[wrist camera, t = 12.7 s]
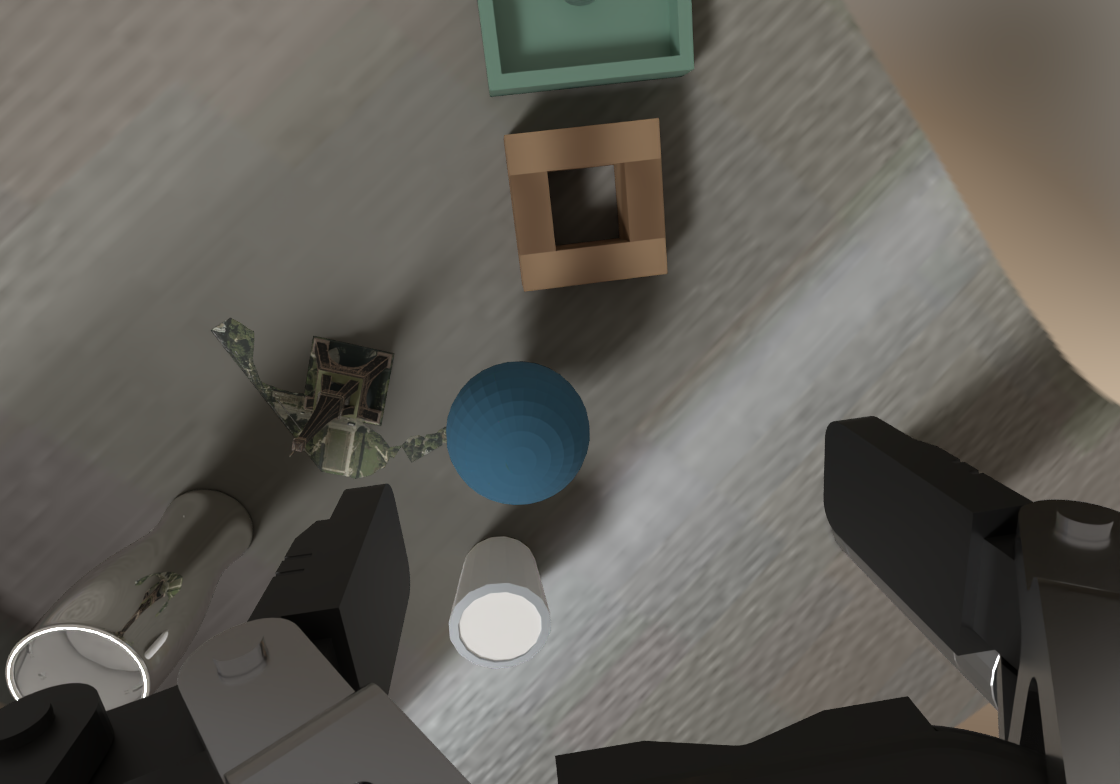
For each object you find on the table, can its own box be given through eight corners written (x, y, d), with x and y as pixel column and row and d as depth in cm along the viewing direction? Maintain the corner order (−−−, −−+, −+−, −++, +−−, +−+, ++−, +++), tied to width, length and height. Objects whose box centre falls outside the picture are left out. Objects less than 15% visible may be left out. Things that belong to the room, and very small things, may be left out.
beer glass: (280, 526, 46) (183, 678, 31) (216, 585, 47) (94, 759, 32) (201, 463, 44) (59, 595, 29) (136, 527, 45) (-32, 684, 30)
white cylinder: (483, 514, 47) (481, 567, 40) (560, 552, 49) (571, 610, 42) (438, 583, 48) (429, 646, 42) (515, 619, 50) (518, 684, 43)
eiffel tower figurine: (209, 326, 42) (83, 385, 29) (337, 247, 41) (266, 271, 28) (346, 498, 46) (290, 614, 33) (463, 429, 45) (451, 521, 33)
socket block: (645, 124, 40) (658, 118, 36) (654, 267, 43) (667, 273, 39) (503, 139, 39) (504, 135, 36) (522, 283, 42) (524, 291, 39)
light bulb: (587, 350, 44) (619, 406, 33) (556, 458, 46) (575, 545, 35) (469, 320, 42) (460, 368, 31) (442, 433, 45) (424, 515, 33)
